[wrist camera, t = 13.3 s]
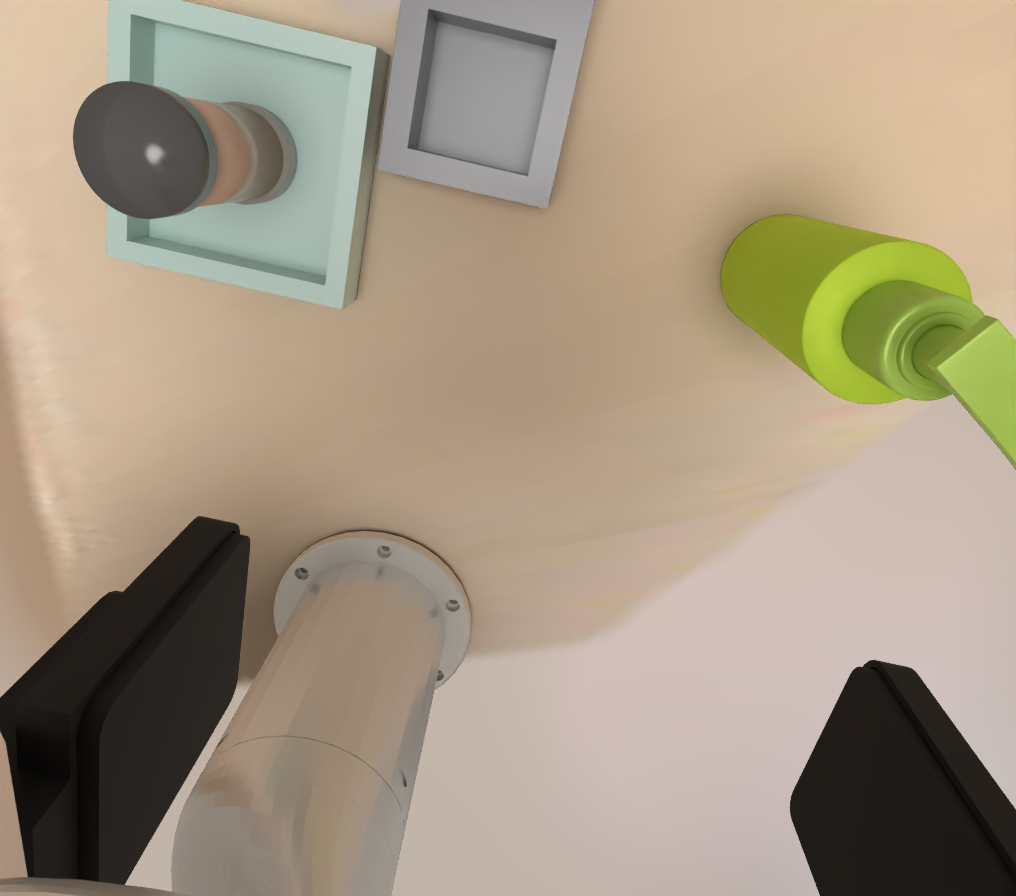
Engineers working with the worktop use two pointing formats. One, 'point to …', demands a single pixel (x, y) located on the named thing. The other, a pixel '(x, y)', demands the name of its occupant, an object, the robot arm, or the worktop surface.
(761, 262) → the soap dispenser
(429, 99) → the fuse holder
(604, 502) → the worktop surface
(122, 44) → the parts tray
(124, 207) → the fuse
